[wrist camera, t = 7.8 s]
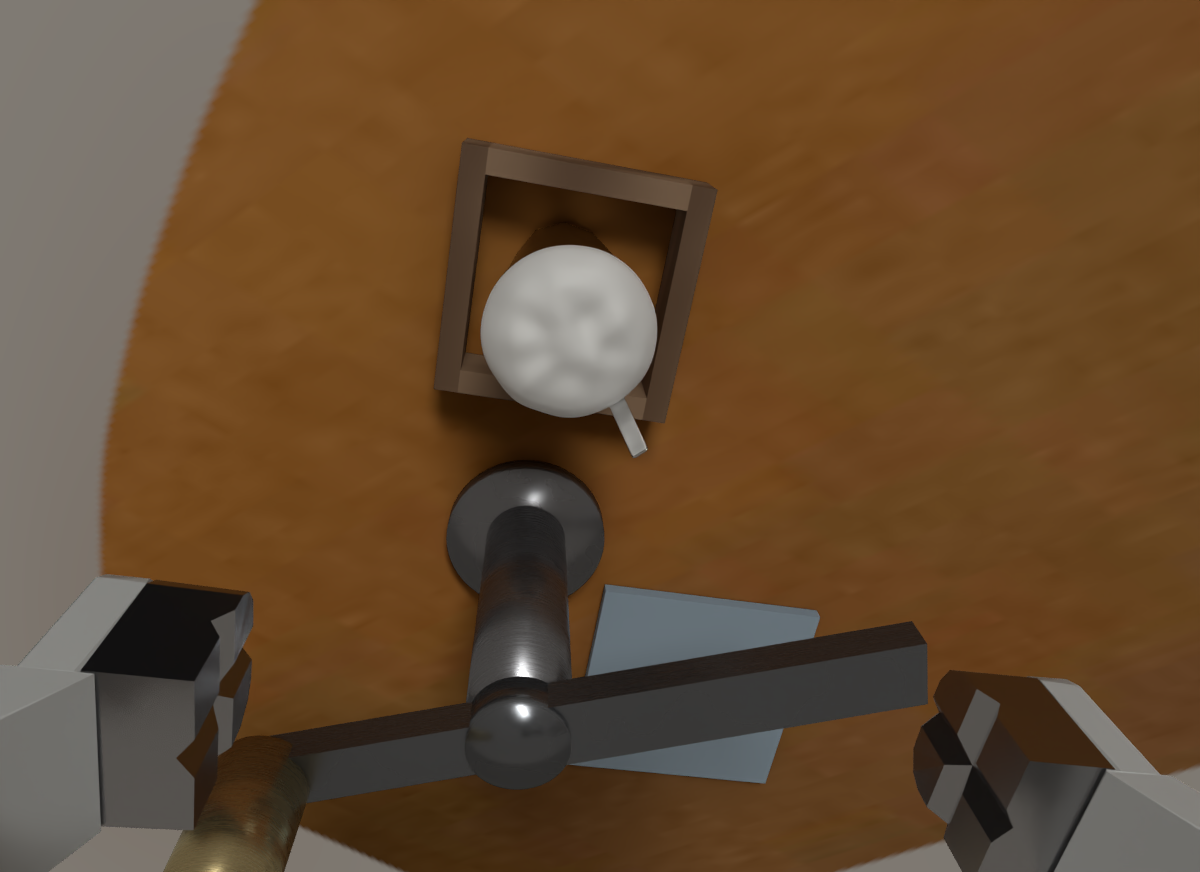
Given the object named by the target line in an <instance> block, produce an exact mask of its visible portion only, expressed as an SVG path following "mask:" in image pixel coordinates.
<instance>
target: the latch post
mask: <svg viewBox="0 0 1200 872" xmlns="http://www.w3.org/2000/svg"><path fill="white" fill-rule="evenodd" d="M603 547H604V528H603V521H602V515H601V511H600V508H599V505H598V503H597V501H596V499H595V497H594V495H593V494H592V493H591V491H590V490H589V488H588V487H587V486H586V485H585V484H584V483H583V482H582V481H581V480H580V479H578V478H577V477H576V476H575V475H573V474H572V473H570V472H568V471H567V470H565V469H563V468H560V467H558V466H555V465H552V464H549V463H545V462H540V461H531V460H521V461H512V462H506V463H503V464H499V465H496V466H494V467H491V468H489V469H487V470H485V471H484V472H482V473H480V474H479V475H477V476H476V477H475V478H473V479H472V480H471V481H470V482H469V483H468V484H467V485H466V486H465V487H464V488H463V490H462V491H461V492H460V494H459V495H458V497H457V499H456V500H455V502H454V505H453V507H452V510H451V514H450V519H449V523H448V528H447V549H448V553H449V557H450V559H451V562H452V564H453V566H454V568H455V570H456V571H457V573H458V574H459V576H460V577H461V578H462V579H463V581H464V582H465V583H466V584H467V585H468V586H470V587H471V588H472V589H473V590H475V591H476V592H477V593H479V602H478V610H477V618H476V626H475V634H474V642H473V651H472V659H471V667H470V675H469V683H468V691H467V699H466V703H468V702H472V701H473V699H474V698H475V697H476V695H477V694H478V693H479V692H480V691H481V690H482V689H483V688H485V687H486V686H488V685H489V684H491V683H493V682H495V681H497V680H500V679H504V678H508V677H516V676H523V677H531V678H536V679H539V680H542V681H544V682H547V683H550V682H556V681H562V680H568V679H572V674H571V652H570V631H569V610H568V595H570V594H572V593H573V592H575V591H576V590H578V589H579V588H580V587H581V586H582V585H583V584H584V583H586V581H587V580H588V579H589V578H590V577H591V575H592V574H593V573H594V571H595V569H596V568H597V566H598V564H599V561H600V559H601V556H602V552H603Z"/></svg>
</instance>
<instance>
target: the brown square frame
mask: <svg viewBox="0 0 1200 872" xmlns="http://www.w3.org/2000/svg"><path fill="white" fill-rule="evenodd" d="M488 175H491V176H496V177H502V178H508V179H513V180H519V181H524V182H530V183H535V184H541V185H546V186H552V187H557V188H563V189H568V190H574V191H579V192H585V193H590V194H596V195H601V196H607V197H612V198H618V199H623V200H629V201H634V202H640V203H645V204H651V205H657V206H662V207H668V208H673V209H677V210H676V215H675V220H674V224H673V229H672V234H671V238H670V243H669V248H668V253H667V257H666V262H665V267H664V272H663V276H662V281H661V286H660V291H659V295H658V300H657V305H656V310H655V313H656V319H657V341H656V347H655V352H654V356H653V359H652V362H651V364H650V367H649V369H648V371H647V373H646V374H645V376H644V377H643V379H642V380H641V381H640V383H639V384H638V385H637V386H636V387H635V388H634V389H633V390H632V391H631V392H630V393H629V394H628V395H626V396H625V397H624V398H625V400H626V402H627V404H628V406H629V409H630V411H631V413H632V415H633V417H634V419H639V420H645V421H652V422H659V423H665V419H666V415H667V410H668V406H669V402H670V397H671V393H672V388H673V384H674V379H675V375H676V371H677V366H678V362H679V357H680V353H681V349H682V344H683V340H684V335H685V331H686V327H687V322H688V318H689V313H690V309H691V304H692V300H693V296H694V291H695V287H696V282H697V278H698V274H699V269H700V265H701V260H702V256H703V252H704V247H705V243H706V238H707V234H708V230H709V225H710V221H711V216H712V212H713V207H714V203H715V199H716V194H717V189H715V188H714V187H712V186H711V185H709V184H708V183H706V182H701V181H695V180H690V179H685V178H679V177H674V176H668V175H663V174H658V173H652V172H647V171H642V170H636V169H631V168H625V167H620V166H615V165H609V164H604V163H599V162H593V161H588V160H582V159H577V158H572V157H566V156H561V155H556V154H550V153H545V152H539V151H534V150H529V149H523V148H518V147H513V146H507V145H502V144H496V143H491V142H486V141H480V140H475V139H470V138H467V139H466V140H465V141H463V142H462V148H461V157H460V166H459V174H458V183H457V192H456V200H455V209H454V218H453V226H452V235H451V244H450V252H449V261H448V270H447V278H446V287H445V296H444V304H443V313H442V322H441V330H440V339H439V348H438V356H437V365H436V374H435V382H434V389H437V390H444V391H450V392H457V393H464V394H471V395H477V396H484V397H491V398H497V399H504V400H511V401H515V400H514V399H513V398H512V397H511V396H509V395H508V393H507V392H506V391H505V390H504V389H503V387H502V386H501V385H500V383H499V382H498V381H497V379H496V378H495V376H494V375H493V373H492V371H491V370H490V368H489V366H488V364H487V362H486V360H485V357H484V355H478V354H471V353H465V352H466V344H467V336H468V328H469V320H470V312H471V305H472V297H473V289H474V281H475V273H476V266H477V258H478V250H479V242H480V234H481V227H482V219H483V211H484V203H485V195H486V187H487V180H488ZM596 413H598V414H605V415H612V416H613V414H612V412H611V409H610V407H608V408H606V409H604V410H601V411H599V412H596Z"/></svg>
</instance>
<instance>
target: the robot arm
mask: <svg viewBox="0 0 1200 872" xmlns="http://www.w3.org/2000/svg"><path fill="white" fill-rule="evenodd" d="M252 627H253V599H252V596H251V594H250V592H246V591H239V590H231V589H223V588H216V587H208V586H200V585H192V584H185V583H177V582H169V581H162V580H154V581H153V580H151V579H147V578H137V577H128V576H119V575H109V574H106V575H102V576H99V577H96V578H95V579H94V580H93V581H92V582H91V583H90V584H89V585H88V586H87V587H86V589H85V590H84V591H83V592H82V593H81V594H80V595H79V597H78V598H77V599H76V600H75V601H74V602H73V603H72V604H71V606H70V607H69V608H68V609H67V610H66V611H65V612H64V613H63V615H62V616H61V617H60V618H59V619H58V620H57V621H56V623H55V624H54V625H53V626H52V627H51V628H50V629H49V631H48V632H47V633H46V634H45V635H44V636H43V637H42V638H41V639H40V641H39V642H38V643H37V644H36V645H35V646H34V647H33V648H32V650H31V651H30V652H29V653H28V654H27V655H26V656H25V657H24V659H23V660H22V661H21V662H20V663H19V664H18V665H17V666H9V665H0V872H49V871H50V870H51V869H52V868H54V867H55V866H56V865H58V864H59V863H60V862H62V861H63V860H64V859H66V858H67V857H68V856H69V855H71V854H72V853H74V852H75V851H76V850H77V849H79V848H80V847H81V846H83V845H84V844H85V843H87V842H88V841H89V840H90V839H92V838H93V837H94V836H96V835H97V834H98V833H100V831H101V826H107V827H130V828H151V829H174V830H194V828H195V826H196V824H197V822H198V820H199V818H200V815H201V813H202V811H203V809H204V807H205V805H206V802H207V800H208V798H209V796H210V794H211V791H212V789H213V787H214V785H215V783H216V781H217V767H218V755H220V754H222V753H223V752H225V751H226V750H228V749H229V748H231V747H232V745H233V743H234V740H235V738H236V736H237V733H238V731H239V729H240V726H241V722H242V719H243V715H244V712H245V708H246V704H247V701H248V695H249V688H250V681H251V665H252V659H251V658H250V657H249V655H248V654H247V653H246V651H245V650H244V649H243V648H242V647H243V645H244V643H245V641H246V639H247V637H248V635H249V633H250V631H251V629H252ZM933 698H934V700H935V703H936V706H937V708H938V711H939V713H938V714H937V715H935V716H934V717H933V718H931V719H930V720H929V721H928V722H926V723H925V724H924V725H922V726H921V729H920V732H919V734H918V737H917V740H916V743H915V746H914V749H913V773H914V776H915V780H916V784H917V788H918V791H919V793H920V795H921V796H922V798H923V800H924V802H925V804H926V806H927V807H928V808H929V809H930V810H931V811H933V812H934V813H935V814H936V815H938V816H939V817H940V818H941V819H943V820H944V821H945V822H946V823H947V827H946V831H945V835H944V839H945V841H946V843H947V845H948V846H949V849H950V850H951V852H952V854H953V856H954V858H955V859H956V861H957V863H958V865H959V867H960V868H961V870H962V872H1200V792H1198V791H1196V790H1195V789H1193V788H1191V787H1190V786H1188V785H1186V784H1185V783H1183V782H1181V781H1180V780H1178V779H1176V778H1175V777H1173V776H1166V775H1160V774H1159V773H1158V772H1157V771H1156V770H1155V768H1154V767H1153V766H1152V765H1151V764H1150V763H1149V762H1148V761H1147V760H1146V759H1145V758H1144V756H1143V755H1142V754H1141V753H1140V752H1139V751H1138V750H1137V749H1136V748H1135V747H1134V745H1133V744H1132V743H1131V742H1130V741H1129V740H1128V739H1127V738H1126V737H1125V736H1124V734H1123V733H1122V732H1121V731H1120V730H1119V729H1118V728H1117V727H1116V726H1115V725H1114V723H1113V722H1112V721H1111V720H1110V719H1109V718H1108V717H1107V716H1106V715H1105V714H1104V712H1103V711H1102V710H1101V709H1100V708H1099V707H1098V706H1097V705H1096V704H1095V703H1094V701H1093V700H1092V699H1091V698H1090V697H1089V696H1088V695H1087V694H1086V693H1085V692H1084V690H1083V689H1082V688H1081V687H1080V686H1079V685H1077V684H1075V683H1073V682H1071V681H1069V680H1067V679H1057V678H1043V677H1030V676H1028V677H1020V676H1009V675H998V674H988V673H977V672H967V671H956V670H949V671H948V672H947V674H946V675H945V676H944V677H943V678H942V679H941V680H940V682H939V684H938V687H937V689H936V691H935V694H934V696H933Z"/></svg>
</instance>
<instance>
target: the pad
mask: <svg viewBox="0 0 1200 872" xmlns="http://www.w3.org/2000/svg"><path fill="white" fill-rule="evenodd" d="M819 619H820V616H819V614H818V612H817V611H816V610H808V609H800V608H792V607H784V606H776V605H768V604H760V603H752V602H744V601H735V600H727V599H719V598H711V597H703V596H695V595H687V594H679V593H671V592H662V591H654V590H646V589H638V588H630V587H622V586H614V585H606V584H605V587H604V591H603V596H602V601H601V605H600V610H599V615H598V619H597V624H596V628H595V633H594V638H593V642H592V647H591V652H590V656H589V661H588V666H587V670H586V675H585V677H586V676H592V675H598V674H603V673H609V672H615V671H621V670H627V669H633V668H639V667H645V666H651V665H657V664H662V663H668V662H674V661H680V660H686V659H692V658H698V657H704V656H710V655H716V654H721V653H727V652H733V651H739V650H745V649H751V648H757V647H763V646H769V645H775V644H781V643H786V642H792V641H798V640H804V639H810V638H813V637H814V634H815V631H816V628H817V625H818V622H819ZM782 731H783V728H782V729H776V730H771V731H765V732H759V733H753V734H747V735H741V736H735V737H729V738H723V739H717V740H711V741H705V742H699V743H694V744H688V745H682V746H676V747H670V748H664V749H658V750H652V751H646V752H640V753H634V754H628V755H622V756H617V757H611V758H605V759H599V760H593V761H587V762H581V763H575V764H569V765H578V766H589V767H599V768H609V769H620V770H630V771H641V772H651V773H661V774H672V775H682V776H693V777H703V778H713V779H724V780H734V781H745V782H755V783H765V782H766V779H767V776H768V773H769V770H770V767H771V764H772V761H773V758H774V755H775V752H776V749H777V746H778V743H779V740H780V737H781V734H782Z"/></svg>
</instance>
